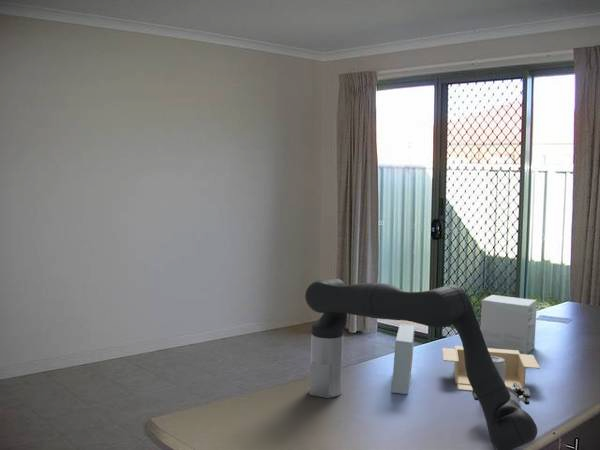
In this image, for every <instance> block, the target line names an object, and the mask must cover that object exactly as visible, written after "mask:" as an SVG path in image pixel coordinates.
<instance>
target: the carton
mask: <svg viewBox="0 0 600 450" xmlns="http://www.w3.org/2000/svg"><path fill="white" fill-rule="evenodd" d="M487 349H488V351H489V353H490V356H496V357H501V358H503V359H504V362H505V364H506V367H505V385H506V386H507V387H513V384H514V383H517V385H519V386H520V387H521V389H524V388H526V387H525V386H526V371H527V370H526V369H538V370H539V369H541V367H540V366H539V364H538V362H537V360H536V357H535V356H534V354H520V353H519V351H518V350H506V349H493V348H487ZM442 361H443V362H450V363H451V362H454V363H453V365H454V366H453V375H454V385H455V386H457V390H458V391H469V392H472V391H473V388H472V386H471V384H470V382H469V380H468V377H467V373H466V368H465V358H464V349H463V345H454V348H449V347H448V348H447V347H442Z"/></svg>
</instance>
